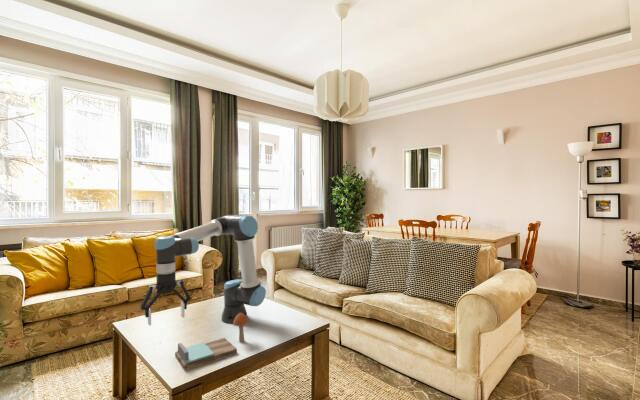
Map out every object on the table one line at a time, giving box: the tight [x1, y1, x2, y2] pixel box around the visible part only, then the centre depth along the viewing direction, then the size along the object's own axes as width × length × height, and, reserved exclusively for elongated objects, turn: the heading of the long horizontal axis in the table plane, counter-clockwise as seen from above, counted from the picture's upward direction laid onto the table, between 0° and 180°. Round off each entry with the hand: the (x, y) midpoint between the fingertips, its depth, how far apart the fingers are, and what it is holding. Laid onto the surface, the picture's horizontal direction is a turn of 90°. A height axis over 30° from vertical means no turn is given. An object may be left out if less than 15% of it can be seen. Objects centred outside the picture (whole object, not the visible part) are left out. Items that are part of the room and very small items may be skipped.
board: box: [174, 337, 238, 371], centre depth 154 cm, size 15×24×2 cm, turn 128°
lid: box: [176, 342, 214, 364], centre depth 151 cm, size 14×12×4 cm
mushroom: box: [232, 313, 250, 343], centre depth 168 cm, size 8×8×15 cm
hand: (166, 320), depth 143 cm, fingers open, 13 cm apart
